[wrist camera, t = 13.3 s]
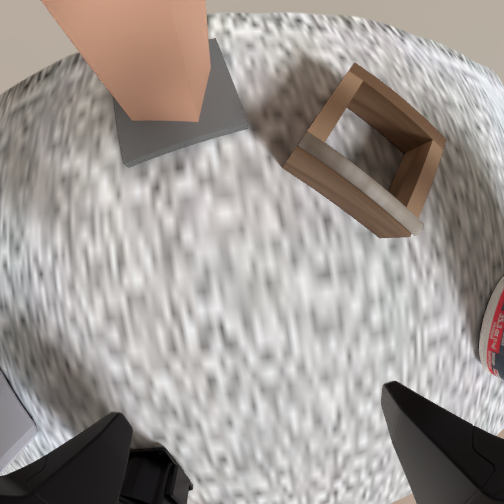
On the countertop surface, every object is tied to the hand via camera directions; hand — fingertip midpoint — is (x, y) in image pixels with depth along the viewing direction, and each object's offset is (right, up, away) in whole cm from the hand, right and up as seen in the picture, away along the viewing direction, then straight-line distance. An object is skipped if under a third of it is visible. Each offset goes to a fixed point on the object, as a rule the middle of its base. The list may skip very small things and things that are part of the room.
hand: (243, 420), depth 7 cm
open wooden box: (+9, +13, +11) cm, 19 cm away
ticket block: (-6, +17, +9) cm, 20 cm away
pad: (-6, +17, +10) cm, 21 cm away
